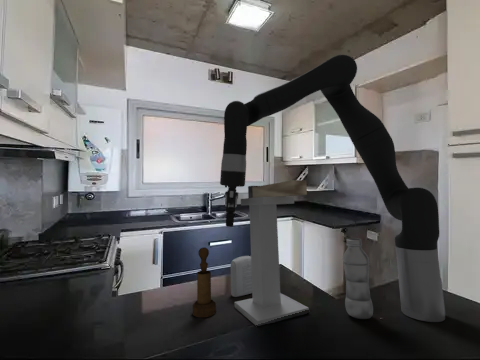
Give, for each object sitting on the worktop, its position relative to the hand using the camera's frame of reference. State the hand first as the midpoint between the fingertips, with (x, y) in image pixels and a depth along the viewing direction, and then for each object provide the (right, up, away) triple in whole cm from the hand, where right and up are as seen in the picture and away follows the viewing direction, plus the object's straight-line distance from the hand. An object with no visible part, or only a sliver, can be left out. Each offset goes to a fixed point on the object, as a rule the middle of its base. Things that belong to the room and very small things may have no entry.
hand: (229, 223), depth 75 cm
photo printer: (+5, -26, +10) cm, 28 cm away
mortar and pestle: (-7, -25, -5) cm, 26 cm away
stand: (+12, -24, -5) cm, 27 cm away
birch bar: (+13, +8, -5) cm, 16 cm away
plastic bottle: (+34, -23, -10) cm, 43 cm away
